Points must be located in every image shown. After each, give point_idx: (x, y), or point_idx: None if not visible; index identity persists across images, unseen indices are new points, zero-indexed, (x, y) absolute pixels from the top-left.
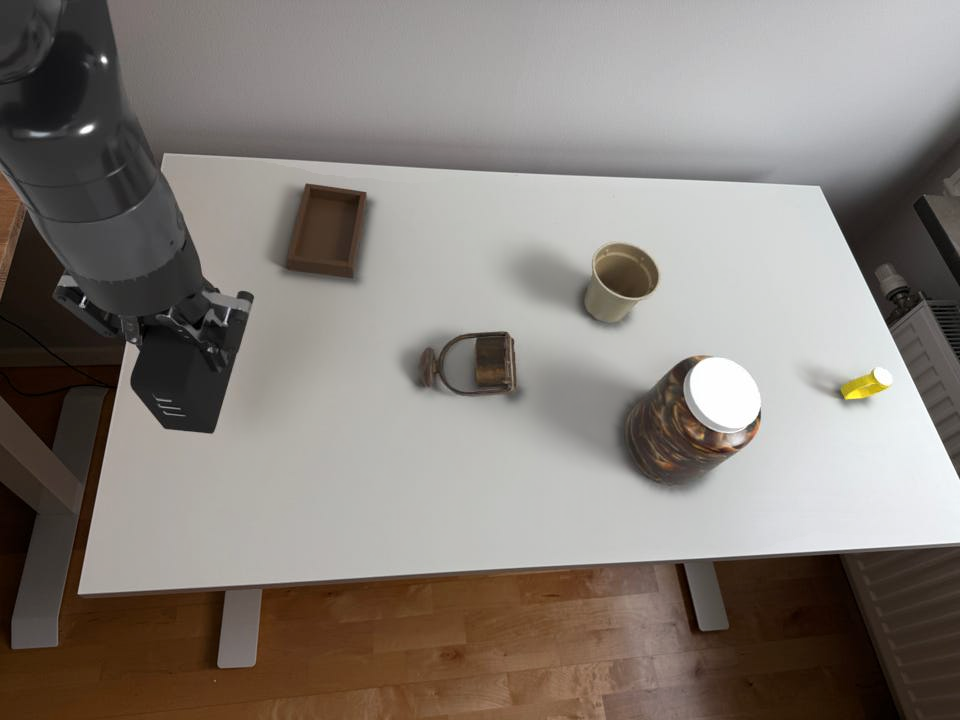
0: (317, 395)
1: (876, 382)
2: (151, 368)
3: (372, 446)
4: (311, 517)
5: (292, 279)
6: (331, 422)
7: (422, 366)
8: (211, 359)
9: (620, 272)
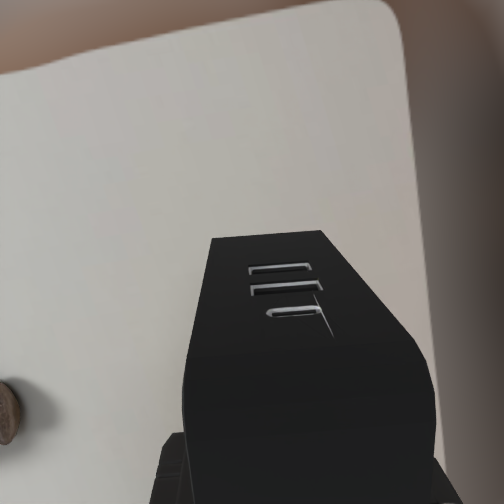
0: (160, 335)
1: None
2: (356, 454)
3: (51, 275)
4: (103, 148)
5: None
6: (125, 299)
7: (4, 414)
8: (184, 481)
9: None
